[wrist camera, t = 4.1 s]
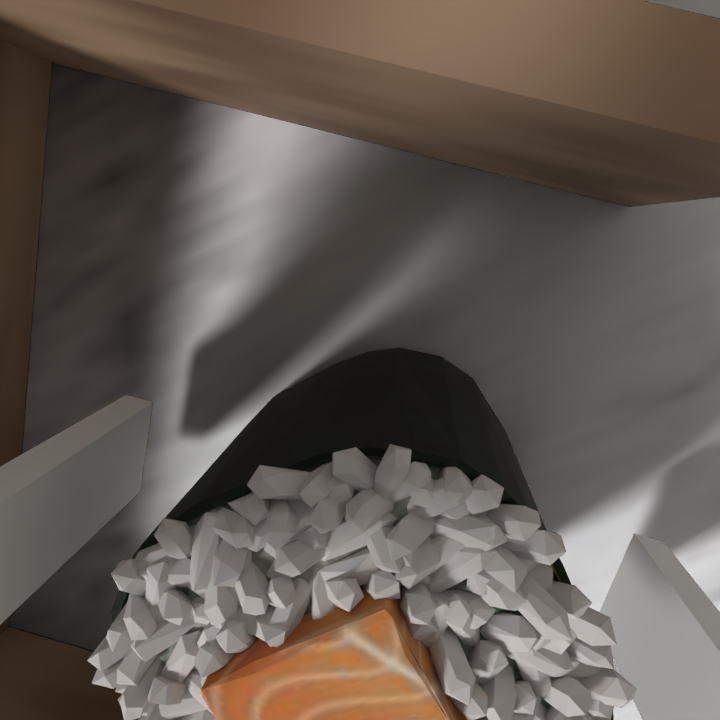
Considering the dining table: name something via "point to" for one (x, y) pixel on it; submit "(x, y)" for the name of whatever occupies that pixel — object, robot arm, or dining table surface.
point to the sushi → (360, 570)
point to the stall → (360, 121)
